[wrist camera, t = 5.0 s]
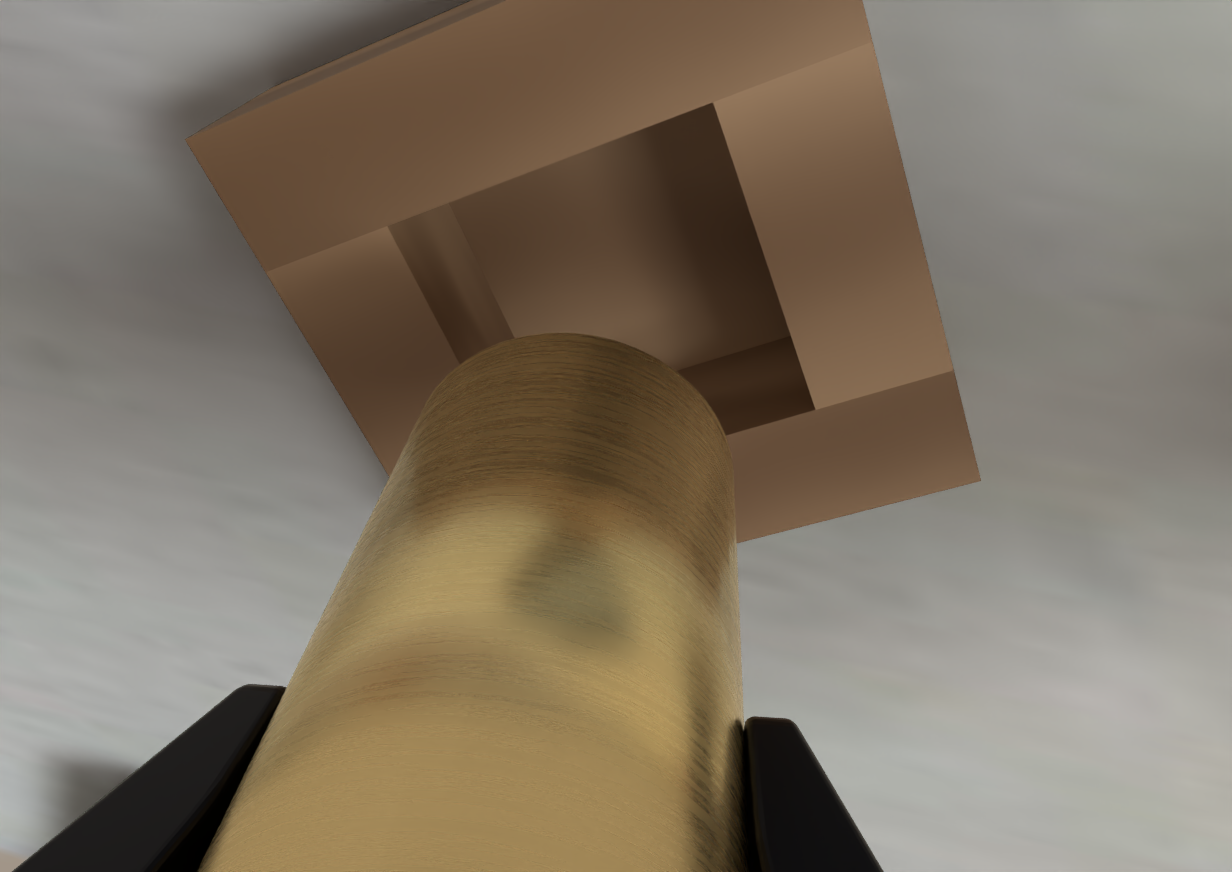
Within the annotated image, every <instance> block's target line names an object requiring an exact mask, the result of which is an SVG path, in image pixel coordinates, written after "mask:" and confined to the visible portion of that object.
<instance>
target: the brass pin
mask: <svg viewBox="0 0 1232 872" xmlns="http://www.w3.org/2000/svg"><path fill="white" fill-rule="evenodd" d="M197 872H749V852H748V827H747V802H746V778H745V753H744V714H743V690H742V665H741V641H740V616H739V592H738V568H737V543H736V519H735V494H734V470H733V463H732V456H731V451H730V448H729V444H728V441H727V438H726V435H725V432H724V430H723V428H722V426H721V424H720V422H719V420H718V418H717V416H716V415H715V413H714V412H713V410H712V409H711V407H710V406H709V404H708V403H707V401H706V400H705V399H704V398H703V396H702V395H701V394H700V393H699V392H698V391H697V390H696V389H695V387H694V386H693V385H692V384H691V383H689V382H688V381H687V380H686V379H685V378H684V377H683V376H681V375H680V374H679V373H678V372H677V371H676V370H674V369H672V368H671V367H669V366H668V365H666V364H665V363H663V362H662V361H660V360H659V359H657V358H655V357H653V356H651V355H649V354H647V353H645V352H643V351H641V350H639V349H637V348H635V347H632V346H629V345H626V344H624V343H621V342H618V341H615V340H611V339H607V338H602V337H598V336H593V335H585V334H576V333H544V334H536V335H529V336H523V337H519V338H515V339H511V340H508V341H504V342H501V343H499V344H496V345H494V346H491V347H489V348H486V349H484V350H482V351H480V352H479V353H477V354H475V355H473V356H472V357H470V358H468V359H467V360H465V361H464V362H463V363H461V364H460V365H459V366H457V367H456V368H455V369H454V370H452V371H451V372H450V373H449V374H448V375H447V376H446V377H445V378H444V379H443V380H442V381H441V382H440V383H439V385H438V386H437V387H436V388H435V390H434V391H433V393H432V394H431V396H430V397H429V399H428V400H427V401H426V404H425V406H424V408H423V410H422V412H421V414H420V416H419V418H418V420H417V422H416V424H415V426H414V428H413V430H412V432H411V434H410V436H409V438H408V440H407V442H406V444H405V447H404V449H403V451H402V453H401V455H400V457H399V459H398V461H397V463H396V465H395V467H394V469H393V471H392V473H391V475H390V477H389V479H388V481H387V483H386V485H385V487H384V490H383V492H382V494H381V496H380V498H379V500H378V502H377V504H376V506H375V508H374V510H373V512H372V514H371V516H370V518H369V520H368V522H367V524H366V526H365V528H364V530H363V533H362V535H361V537H360V539H359V541H358V543H357V545H356V547H355V549H354V551H353V553H352V555H351V557H350V559H349V561H348V563H347V565H346V567H345V569H344V571H343V573H342V576H341V578H340V580H339V582H338V584H337V586H336V588H335V590H334V592H333V594H332V596H331V598H330V600H329V602H328V604H327V606H326V608H325V610H324V612H323V614H322V616H321V619H320V621H319V623H318V625H317V627H316V629H315V631H314V633H313V635H312V637H311V639H310V641H309V643H308V645H307V647H306V649H305V651H304V653H303V655H302V657H301V659H300V662H299V664H298V666H297V668H296V670H295V672H294V674H293V676H292V678H291V680H290V682H289V684H288V686H287V688H286V690H285V692H284V694H283V696H282V698H281V700H280V703H279V705H278V707H277V709H276V711H275V713H274V715H273V717H272V719H271V721H270V723H269V725H268V727H267V729H266V731H265V733H264V735H263V737H262V739H261V741H260V743H259V746H258V748H257V750H256V752H255V754H254V756H253V758H252V760H251V762H250V764H249V766H248V768H247V770H246V772H245V774H244V776H243V778H242V780H241V782H240V784H239V786H238V789H237V791H236V793H235V795H234V797H233V799H232V801H231V803H230V805H229V807H228V809H227V811H226V813H225V815H224V817H223V819H222V821H221V823H220V825H219V827H218V829H217V832H216V834H215V836H214V838H213V840H212V842H211V844H210V846H209V848H208V850H207V852H206V854H205V856H204V858H203V860H202V862H201V864H200V866H199V868H198V870H197Z"/></svg>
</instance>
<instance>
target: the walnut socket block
mask: <svg viewBox="0 0 1232 872" xmlns="http://www.w3.org/2000/svg"><path fill="white" fill-rule="evenodd" d="M185 140H186V142H187V144H188V145H189V147H190V149H191V150H192V152H193V154H194V155H195V157H196V159H197V160H198V162H199V164H200V165H201V167H202V168H203V170H204V172H205V173H206V175H207V177H208V178H209V180H210V182H211V183H212V185H213V187H214V188H215V190H216V192H217V193H218V195H219V197H220V198H221V200H222V201H223V203H224V205H225V206H226V208H227V210H228V211H229V213H230V215H231V216H232V218H233V220H234V221H235V223H236V225H237V226H238V228H239V230H240V231H241V233H242V235H243V236H244V238H245V239H246V241H247V243H248V244H249V246H250V248H251V249H252V251H253V253H254V254H255V256H256V258H257V259H258V261H259V263H260V264H261V266H262V268H263V269H264V271H265V272H266V274H267V276H268V277H269V279H270V281H271V282H272V284H273V286H274V287H275V289H276V291H277V292H278V294H279V296H280V297H281V299H282V301H283V302H284V304H285V305H286V307H287V309H288V310H289V312H290V314H291V315H292V317H293V319H294V320H295V322H296V324H297V325H298V327H299V329H300V330H301V332H302V334H303V335H304V337H305V338H306V340H307V342H308V343H309V345H310V347H311V348H312V350H313V352H314V353H315V355H316V357H317V358H318V360H319V362H320V363H321V365H322V367H323V368H324V370H325V372H326V373H327V375H328V376H329V378H330V380H331V381H332V383H333V385H334V386H335V388H336V390H337V391H338V393H339V395H340V396H341V398H342V400H343V401H344V403H345V405H346V406H347V408H348V409H349V411H350V413H351V414H352V416H353V418H354V419H355V421H356V423H357V424H358V426H359V428H360V429H361V431H362V433H363V434H364V436H365V438H366V439H367V441H368V442H369V444H370V446H371V447H372V449H373V451H374V452H375V454H376V456H377V457H378V459H379V461H380V462H381V464H382V466H383V467H384V469H385V471H386V472H387V474H388V476H389V477H390V475H391V473H392V471H393V469H394V467H395V465H396V463H397V461H398V459H399V457H400V455H401V453H402V451H403V449H404V447H405V444H406V442H407V440H408V438H409V436H410V434H411V432H412V430H413V428H414V426H415V424H416V422H417V420H418V418H419V416H420V414H421V412H422V410H423V408H424V406H425V404H426V401H427V400H428V399H429V397H430V396H431V394H432V393H433V391H434V390H435V388H436V387H437V386H438V385H439V383H440V382H441V381H442V380H443V379H444V378H445V377H446V376H447V375H448V374H449V373H450V372H451V371H452V370H454V369H455V368H456V367H457V366H459V365H460V364H461V363H463V362H464V361H465V360H467V359H468V358H470V357H472V356H473V355H475V354H477V353H479V352H480V351H482V350H484V349H486V348H489V347H491V346H494V345H496V344H499V343H501V342H504V341H508V340H511V339H515V338H519V337H523V336H529V335H536V334H544V333H576V334H585V335H593V336H598V337H602V338H607V339H611V340H615V341H618V342H621V343H624V344H626V345H629V346H632V347H635V348H637V349H639V350H641V351H643V352H645V353H647V354H649V355H651V356H653V357H655V358H657V359H659V360H660V361H662V362H663V363H665V364H666V365H668V366H669V367H671V368H672V369H674V370H676V371H677V372H678V373H679V374H680V375H681V376H683V377H684V378H685V379H686V380H687V381H688V382H689V383H691V384H692V385H693V386H694V387H695V389H696V390H697V391H698V392H699V393H700V394H701V395H702V396H703V398H704V399H705V400H706V401H707V403H708V404H709V406H710V407H711V409H712V410H713V412H714V413H715V415H716V416H717V418H718V420H719V422H720V424H721V426H722V428H723V430H724V432H725V435H726V438H727V441H728V444H729V448H730V451H731V456H732V463H733V470H734V494H735V519H736V543H740V542H744V541H748V540H752V539H755V538H759V537H763V536H767V535H771V534H775V533H779V532H783V531H787V530H791V529H795V528H798V527H802V526H806V525H810V524H814V523H818V522H822V521H826V520H830V519H834V518H838V517H841V516H845V515H849V514H853V513H857V512H861V511H865V510H869V509H873V508H877V507H881V506H884V505H888V504H892V503H896V502H900V501H904V500H908V499H912V498H916V497H920V496H924V495H927V494H931V493H935V492H939V491H943V490H947V489H951V488H955V487H959V486H963V485H967V484H970V483H974V482H978V481H981V479H980V475H979V471H978V467H977V463H976V459H975V455H974V451H973V447H972V442H971V438H970V434H969V430H968V426H967V422H966V418H965V414H964V410H963V406H962V402H961V398H960V394H959V390H958V386H957V382H956V378H955V374H954V370H953V366H952V362H951V358H950V353H949V349H948V345H947V341H946V337H945V333H944V329H943V325H942V321H941V317H940V313H939V309H938V305H937V301H936V297H935V293H934V289H933V285H932V281H931V277H930V273H929V269H928V265H927V260H926V256H925V252H924V248H923V244H922V240H921V236H920V232H919V228H918V224H917V220H916V216H915V212H914V208H913V204H912V200H911V196H910V192H909V188H908V184H907V180H906V176H905V172H904V167H903V163H902V159H901V155H900V151H899V147H898V143H897V139H896V135H895V131H894V127H893V123H892V119H891V115H890V111H889V107H888V103H887V99H886V95H885V91H884V87H883V83H882V78H881V74H880V70H879V66H878V62H877V58H876V54H875V50H874V46H873V42H872V38H871V34H870V30H869V26H868V22H867V18H866V14H865V10H864V6H863V2H862V0H471V1H469V2H467V3H464V4H462V5H460V6H457V7H455V8H453V9H451V10H448V11H446V12H444V13H441V14H439V15H437V16H435V17H432V18H430V19H428V20H425V21H423V22H421V23H419V24H416V25H414V26H412V27H409V28H407V29H405V30H403V31H400V32H398V33H396V34H393V35H391V36H389V37H387V38H384V39H382V40H380V41H377V42H375V43H373V44H371V45H368V46H366V47H364V48H361V49H359V50H357V51H355V52H352V53H350V54H348V55H345V56H343V57H341V58H339V59H336V60H334V61H332V62H329V63H327V64H325V65H323V66H320V67H318V68H316V69H313V70H311V71H309V72H307V73H304V74H302V75H300V76H297V77H295V78H293V79H291V80H288V81H286V82H284V83H281V84H279V85H277V86H275V87H272V88H270V89H269V90H267V91H265V92H264V93H262V94H260V95H259V96H257V97H255V98H254V99H252V100H250V101H249V102H247V103H245V104H244V105H242V106H240V107H239V108H237V109H235V110H234V111H232V112H230V113H229V114H227V115H225V116H224V117H222V118H220V119H219V120H217V121H215V122H213V123H212V124H210V125H208V126H207V127H205V128H203V129H202V130H200V131H198V132H197V133H195V134H193V135H192V136H190V137H188V138H187V139H185Z"/></svg>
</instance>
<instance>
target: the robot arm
mask: <svg viewBox="0 0 1232 872" xmlns="http://www.w3.org/2000/svg"><path fill="white" fill-rule="evenodd" d="M285 690H286V687H283V686H273V685H257V684H247V685H244V686H242V687H240V688H238V689H236V690H235V691H233V692H232V693H231V694H230V695H228V696H227V697H226V698H225V699H224V700H222V701H221V702H220V703H219V704H217V705H216V706H215V707H214V708H212V709H211V710H210V711H209V712H208V713H206V714H205V715H204V716H203V717H201V718H200V719H199V720H198V721H196V722H195V723H194V724H193V725H192V726H190V727H189V728H188V729H187V730H185V731H184V732H183V733H182V734H180V735H179V736H178V737H177V738H176V739H174V740H173V741H172V742H171V743H169V744H168V745H167V746H166V747H164V748H163V749H162V750H161V751H160V752H158V753H157V754H156V755H155V756H153V757H152V758H151V759H150V760H149V761H147V762H146V763H145V764H144V765H142V766H141V767H140V768H139V769H137V770H136V771H135V772H134V773H133V774H131V775H130V776H129V777H128V778H126V779H125V780H124V781H123V782H121V783H120V784H119V785H118V786H117V787H115V788H114V789H113V790H112V791H110V792H109V793H108V794H107V795H105V796H104V797H103V798H102V799H101V800H99V801H98V802H97V803H96V804H94V805H93V806H92V807H91V808H89V809H88V810H87V811H86V812H85V813H83V814H82V815H81V816H80V817H78V818H77V819H76V820H75V821H74V822H72V823H71V824H70V825H69V826H67V827H66V828H65V829H64V830H62V831H61V832H60V833H59V834H58V835H56V836H55V837H54V838H53V839H51V840H50V841H49V842H48V843H46V844H45V845H44V846H43V847H42V848H40V849H39V850H38V851H37V852H35V853H34V854H33V855H32V856H30V857H29V858H28V859H27V860H26V861H24V862H23V863H22V864H21V865H19V866H18V867H17V868H16V869H14V870H13V871H12V872H197V870H198V868H199V866H200V864H201V862H202V860H203V858H204V856H205V854H206V852H207V850H208V848H209V846H210V844H211V842H212V840H213V838H214V836H215V834H216V832H217V829H218V827H219V825H220V823H221V821H222V819H223V817H224V815H225V813H226V811H227V809H228V807H229V805H230V803H231V801H232V799H233V797H234V795H235V793H236V791H237V789H238V786H239V784H240V782H241V780H242V778H243V776H244V774H245V772H246V770H247V768H248V766H249V764H250V762H251V760H252V758H253V756H254V754H255V752H256V750H257V748H258V746H259V743H260V741H261V739H262V737H263V735H264V733H265V731H266V729H267V727H268V725H269V723H270V721H271V719H272V717H273V715H274V713H275V711H276V709H277V707H278V705H279V703H280V700H281V698H282V696H283V694H284V692H285ZM744 753H745V778H746V802H747V827H748V852H749V872H884V871H883V870H882V868H881V866H880V865H879V863H878V861H877V860H876V858H875V856H874V855H873V853H872V851H871V850H870V848H869V846H868V844H867V843H866V841H865V839H864V838H863V836H862V834H861V833H860V831H859V829H858V828H857V826H856V824H855V823H854V821H853V819H852V817H851V816H850V814H849V812H848V811H847V809H846V807H845V806H844V804H843V802H842V801H841V799H840V797H839V795H838V794H837V792H836V790H835V789H834V787H833V785H832V784H831V782H830V780H829V779H828V777H827V775H826V774H825V772H824V770H823V768H822V767H821V765H820V763H819V762H818V760H817V758H816V757H815V755H814V753H813V752H812V750H811V748H810V747H809V745H808V743H807V741H806V740H805V738H804V736H803V735H802V733H801V731H800V730H799V728H798V727H797V725H796V724H795V723H794V722H793V721H791V720H790V719H785V718H770V717H755V716H754V717H750V718H749V719H747V721H746V722H745V726H744Z"/></svg>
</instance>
